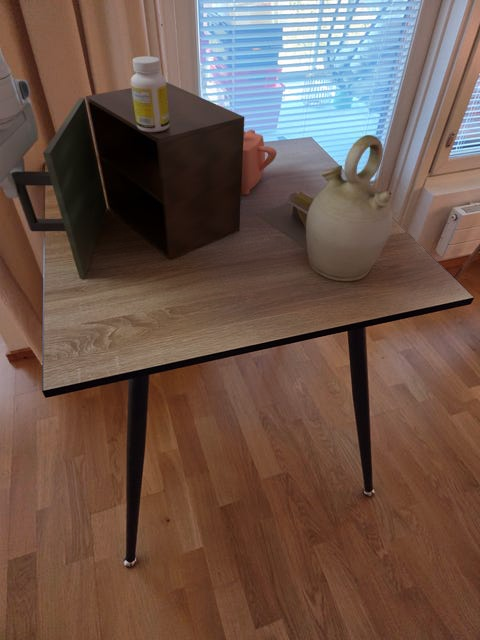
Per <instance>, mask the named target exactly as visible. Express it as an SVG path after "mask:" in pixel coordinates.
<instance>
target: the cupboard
mask: <svg viewBox="0 0 480 640" xmlns="http://www.w3.org/2000/svg"><path fill="white" fill-rule="evenodd" d="M166 88H167V101H168V112H169V127H168V129H166V130H164V131H160V132H145V131H142V130H140V129H139V128H138V127H137V124H136V117H135V110H134V102H133V95H132V88H131V87H128V88H124V89H117V90H112V91H108V92H106V91H105V92H100V93H96V94H90V95H89V94H88V95H85V101H86V106H87V111H88V116H89V121H90V126H91V131H92V136H93V141H94V146H95V151H96V155H97V160H98V165H99V170H100V175H101V180H102V185H103V190H104V195H105V200H106V205H107V209H109V210H110V211H111V212H112V213H113V214H114V215H116V216H117V217H118V218H120V219H121V220H122V221H123V222H124V223H125V224H127V225H128V226H129V227H130V228H131V229H132V230H134V231H135V232H136V233H137V234H138V235H139V236H141V237H142V238H143V239H145V240H146V241H147V243H149V244H150V245H152V246H153V247H154V248H155V249H156V250H158V251H159V252H160V253H161V254H162V255H163V256H164V257H165V258H167V259H168V260H169V261H172V260H175V259H177V258H179V257H182V256H184V255H187V254H188V253H191V252H193V251H196V250H198V249H200V248H203V247H205V246H207V245H210V244H212V243H214V242H216V241H219V240H222V239H224V238H226V237H228V236H231V235H233V234H235V233H238V232H240V230H241V229H240V227H241V206H242V194H241V186H242V163H243V141H244V131H245V116H243V115H241V114H239V113H237V112H234V111H232V110H230V109H228V108H226V107H224V106H221V105H219V104H217V103H215V102H212V101H210V100H207V99H206V98H203V97H200V96H199V95H197V94H195V93H193V92H190V91H187V90H186V89H183V88H181V87H178V86H176V85H174V84H173V83H169V82H167V81H166Z"/></svg>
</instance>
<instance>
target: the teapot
mask: <svg viewBox="0 0 480 640" xmlns="http://www.w3.org/2000/svg"><path fill="white" fill-rule="evenodd" d="M266 153H267V157H266ZM276 157H277V150H276V149H275V148H273V147H271V146H265V142H264V136H263V135H262V134H259V133H256V131H255V130H254V129H248V130H247V131H245V130H244V141H243V163H242V186H241V195H244V196H245V195H249V194H250V190H251V189H253V188H254V187H255V186H256V185H257V184H258V183H259V181H260V180H261V178H262V176H263V174H264V171H265V168H267V167H268V166H269V165H270V164H272V163H273V162H274V160H275V159H276Z"/></svg>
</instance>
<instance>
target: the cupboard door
mask: <svg viewBox="0 0 480 640" xmlns="http://www.w3.org/2000/svg"><path fill="white" fill-rule="evenodd" d="M42 154H43V158H44V161H45V164H46V169H47V171H30V170H29V171H26V170H25V171H17V172H12V173H11V175H12V177H11V178H12V181H13V183H14V184H18V186H19V190H20V194H19V195H18V197H17V198H18V201H19V203H20V205H21V208H22V211H23V214H24V217H25V220H26V223H27V225H28V228H29V230H30V231H31V232H65V233H66V237H67V239H68V244H69V246H70V251H71V253H72V257H73V260H74V264H75V267H76V269H77V273H78V277H79V279H86V276H87V273H88V270H89V267H90V264H91V260H92V258H93V254H94V251H95V248H96V245H97V241H98V238H99V236H100V232H101V230H102V227H103V223H104V219H105V216H106V213H107V211H108V204H107V199H106V194H105V189H104V184H103V179H102V175H101V170H100V165H99V160H98V155H97V150H96V145H95V140H94V135H93V130H92V125H91V120H90V116H89V111H88V106H87V101H86V97H79V98H78V99H77V100H76V102H75V104H74V105H73V107H72V108H71V110H70V111H69V113H68V115H67V116H66V117H65V118H64V120H63V122H62V123H61V125H60V126H59V128H58V129H57V131H56V133H55V134H54V136H53V137H52V139H51V140H50V142H49V143H48V144H47V147H46V148H45V149H44V151H43V152H42ZM27 186H43V187H44V186H46V187H47V186H52V188H53V191H54V195H55V198H56V202H57V206H58V209H59V212H60V216H61V218H37V214H36V212H35V209H34V207H33V203H32V200H31V197H30V194H29V192H28V191H29V190H28V189H27Z"/></svg>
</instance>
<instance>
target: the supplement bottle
mask: <svg viewBox="0 0 480 640" xmlns="http://www.w3.org/2000/svg"><path fill="white" fill-rule="evenodd" d="M132 67H133V71H134V72H135V74H133V75H132V76H131V78H130V88H132V95H133V102H134V110H135V117H136V124H137V127H138V128H139V129H140V130H142V131H145V132H160V131H164V130H166V129H168V127H169V112H168V101H167V88H166V82H167V80H166V78H165V76H164V75H162V73H160V71H161V62H160V58H159V57H156V56H150V55H149V56H148V55H147V56H137V57H134V58H133V59H132Z"/></svg>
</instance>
